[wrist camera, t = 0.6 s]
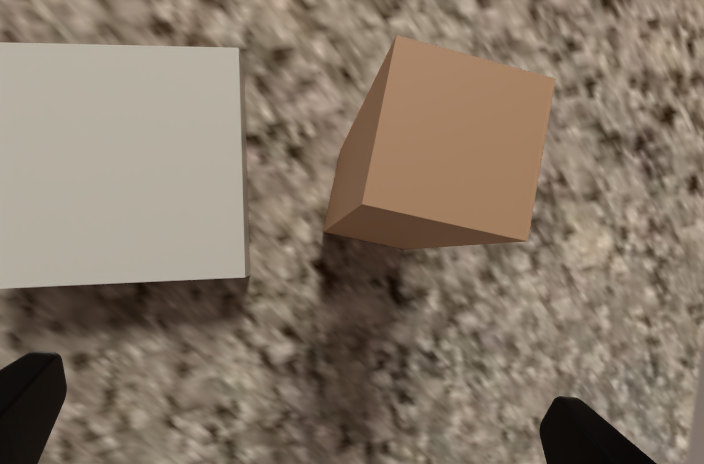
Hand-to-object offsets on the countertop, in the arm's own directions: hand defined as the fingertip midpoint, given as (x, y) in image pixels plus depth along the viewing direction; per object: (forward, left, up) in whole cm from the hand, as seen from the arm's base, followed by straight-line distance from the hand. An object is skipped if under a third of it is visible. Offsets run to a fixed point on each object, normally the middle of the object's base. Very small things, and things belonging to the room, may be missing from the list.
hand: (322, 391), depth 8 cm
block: (+6, 0, -14) cm, 15 cm away
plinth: (0, +10, -14) cm, 17 cm away
